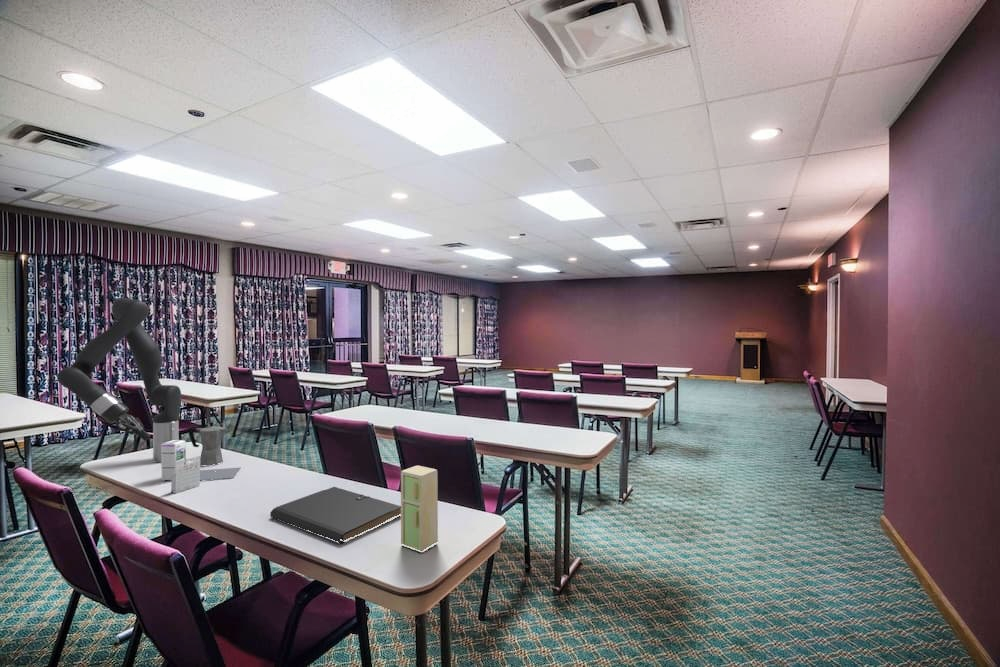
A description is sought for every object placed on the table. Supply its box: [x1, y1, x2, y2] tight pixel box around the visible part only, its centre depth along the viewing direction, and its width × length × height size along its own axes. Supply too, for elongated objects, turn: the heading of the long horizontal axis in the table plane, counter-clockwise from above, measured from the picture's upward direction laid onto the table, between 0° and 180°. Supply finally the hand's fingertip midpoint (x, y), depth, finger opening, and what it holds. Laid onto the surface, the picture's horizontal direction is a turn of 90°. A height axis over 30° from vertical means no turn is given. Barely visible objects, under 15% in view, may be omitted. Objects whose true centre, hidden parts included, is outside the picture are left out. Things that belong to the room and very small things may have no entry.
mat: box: [200, 466, 241, 482], centre depth 186 cm, size 18×14×1 cm
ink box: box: [170, 455, 201, 494], centre depth 170 cm, size 3×9×12 cm, turn 160°
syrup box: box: [160, 439, 187, 481], centre depth 182 cm, size 6×6×14 cm
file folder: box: [269, 486, 401, 543], centre depth 147 cm, size 33×4×24 cm
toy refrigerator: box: [400, 465, 439, 551], centre depth 128 cm, size 8×7×21 cm
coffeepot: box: [188, 421, 229, 466], centre depth 202 cm, size 15×9×18 cm, turn 103°
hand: (148, 438), depth 179 cm, fingers closed
